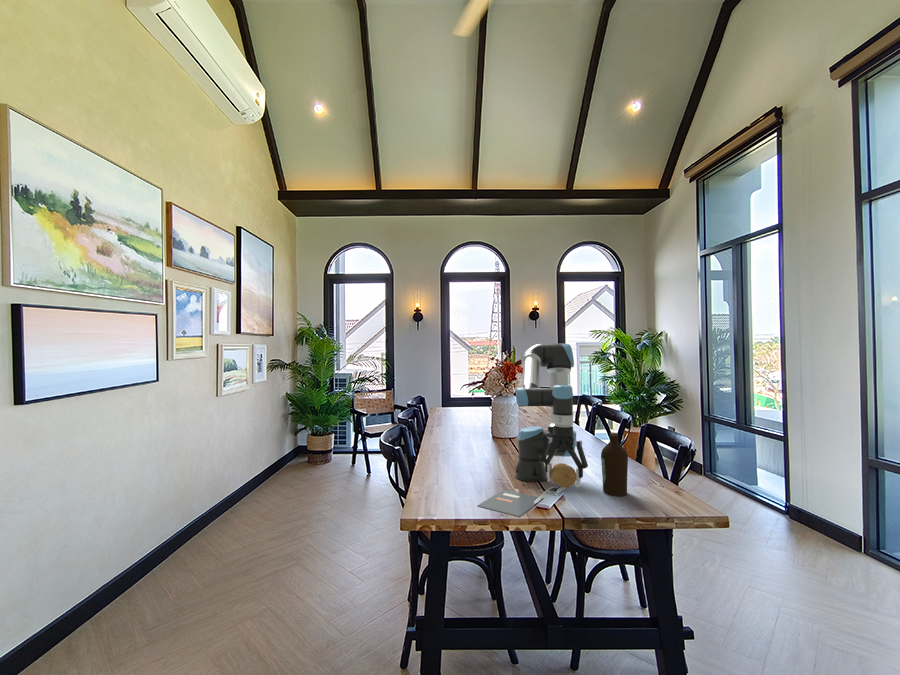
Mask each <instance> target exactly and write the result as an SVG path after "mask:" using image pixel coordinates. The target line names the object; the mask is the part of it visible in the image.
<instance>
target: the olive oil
mask: <svg viewBox="0 0 900 675" xmlns="http://www.w3.org/2000/svg"><path fill="white" fill-rule="evenodd" d="M600 462H601V476H602V491H603V493H604V494H606V495H609V496H613V497H624V496H626V495H628V467H629V456H628V452H627V450H626V449H625V448H624V447H623V446H622V445H621V444H620V442H619V433H618V432H614V431H613V432H610V433H609V442H608V443H607V444H606V445H605V446H604V447H603V448H602V450H601V453H600Z"/></svg>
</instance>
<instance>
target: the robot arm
mask: <svg viewBox="0 0 900 675" xmlns="http://www.w3.org/2000/svg"><path fill="white" fill-rule="evenodd" d="M574 360H575V359H574V353H573V349H572V346H571V344H570V343H563V342H562V343H561V342H560V343H538V344H534V345H531V346H530V347H529V348H528V349H527V350H525V352H524V353H523V355H522V356H521V366H522V381H521V386H520V387H518V388H516V390H515V391H516V393H515V397H516V398H515V400H516V401H515V402H516V405H517V406H522V407H550V424H548V426H547V430H545V429H544V428H543V427H542V426H536V425H535V426H528V427H527V426H526V427H524V428H520V430H519V431H518V435H517V437H518V438H517V441H518V461H517V463H516V467H515V471H514V476H515V478H516V479H518V480H521V481H524V482H530V483H531V482H532V483H533V482H535V483H537V482H543V481H546V480H547V483H548V482H549V483H550V482H552V481H553V480H552V478H551V471H552V468H553V463H552V462H551V461H552V459H553V458H554V457H562V458H564V457H570V458H571V459H572V460H573V462H574V463H575V465H576V466H577V467H576V469H575V472H576V482H575V486H576V488H579V487H581V484H582V483H581V482H582V481H581V479H582V478H583V476H584V469H587V468H588V466H589V465H588V461H587V457H586V455H585V453H584V449H583V441H582V440H577V432H576V431H575V430H574V410H573V409H574V405H573V404H574V393H573V386H571V385H569V373H570V372H571V371H572V368H574V367H575V361H574ZM542 367H543V368H546V371H547V373H549V383H550V384H549V387H540V368H542ZM576 450H577V453H578V454H577V453H576ZM578 456H579V457H578Z"/></svg>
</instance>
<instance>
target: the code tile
mask: <svg viewBox="0 0 900 675" xmlns="http://www.w3.org/2000/svg"><path fill="white" fill-rule="evenodd" d="M538 497H539V496H535V495H531V494H527V493H526V494H525V493H522V492H516V491H512V490H509V489H508V490H507V489H503V490H500V491H499V492H497V493H496V494H494V495H492V496H490V497H489V498H487V499H486V500H484V501H482V502H480V503H479V504H477V507H479V508H481V509H482V508H483V509H486V510H489V511H490V510H491V511H495V512H499V513H502V514H506V515H511V516H514V517H519V518H521V517H522V516H523V515H524V514H526V513H527V512H528V511H530V510H531V509H532V508H533V507H535V506H534V501H535V500H536V499H537V498H538Z"/></svg>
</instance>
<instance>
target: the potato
mask: <svg viewBox="0 0 900 675" xmlns="http://www.w3.org/2000/svg"><path fill="white" fill-rule="evenodd" d="M551 478H552V480H551V481H552V482H553V483H554V484H555V485H557V486H559V487H561V488H570V487H572V486H573V485H576V469H575V468H574V467H573V466H570V465H569V464H566V463H562V462H561V463H556V464H554V465H553V466H552V471H551Z"/></svg>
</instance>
